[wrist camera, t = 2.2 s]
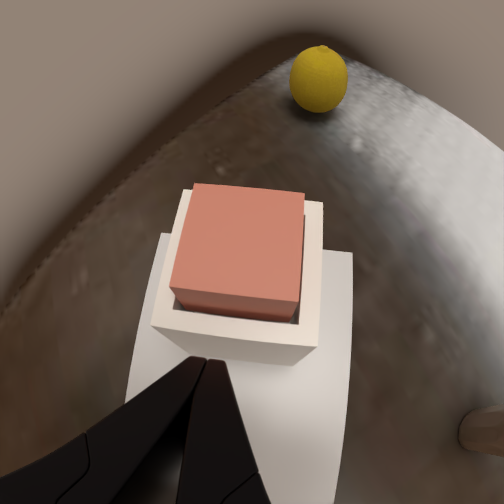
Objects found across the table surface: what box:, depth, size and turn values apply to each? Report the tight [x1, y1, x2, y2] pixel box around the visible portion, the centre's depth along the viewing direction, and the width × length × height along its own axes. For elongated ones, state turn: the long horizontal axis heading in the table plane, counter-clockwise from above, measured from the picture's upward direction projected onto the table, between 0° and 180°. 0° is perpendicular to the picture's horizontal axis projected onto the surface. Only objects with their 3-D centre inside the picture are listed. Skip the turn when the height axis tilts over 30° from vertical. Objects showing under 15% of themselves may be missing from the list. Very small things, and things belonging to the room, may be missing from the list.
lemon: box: [289, 45, 348, 113], centre depth 27 cm, size 6×6×8 cm
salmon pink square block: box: [169, 183, 305, 323], centre depth 13 cm, size 4×4×3 cm
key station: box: [125, 190, 353, 504], centre depth 15 cm, size 18×14×9 cm
